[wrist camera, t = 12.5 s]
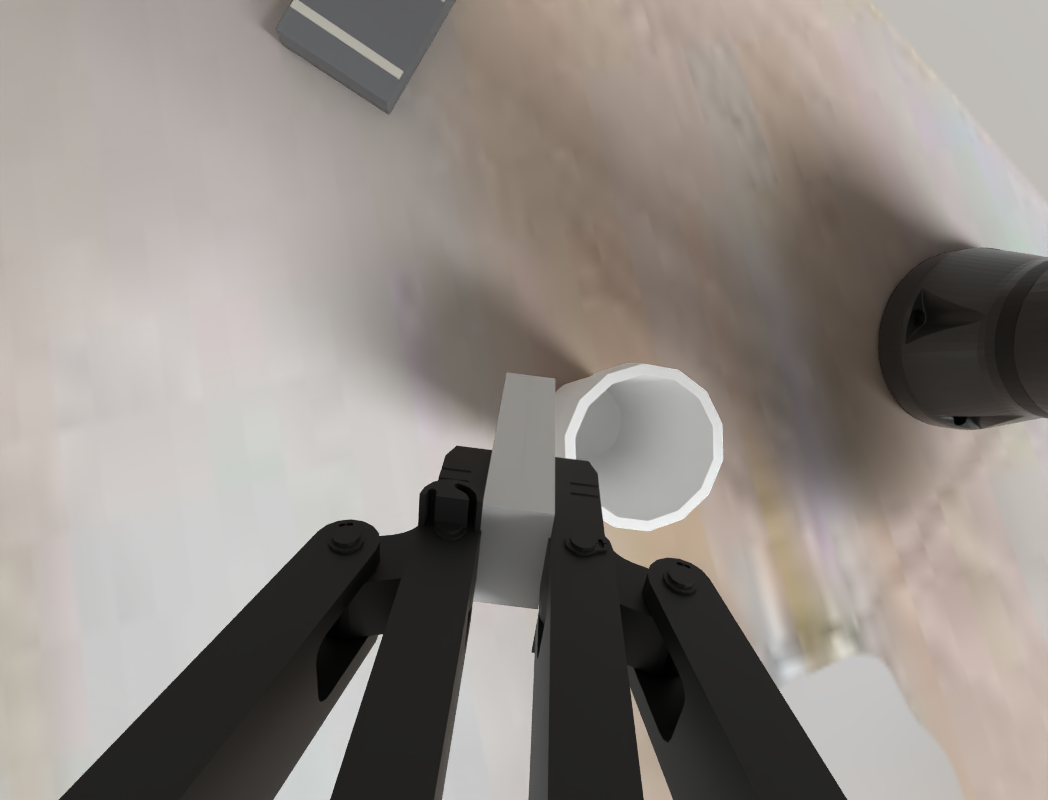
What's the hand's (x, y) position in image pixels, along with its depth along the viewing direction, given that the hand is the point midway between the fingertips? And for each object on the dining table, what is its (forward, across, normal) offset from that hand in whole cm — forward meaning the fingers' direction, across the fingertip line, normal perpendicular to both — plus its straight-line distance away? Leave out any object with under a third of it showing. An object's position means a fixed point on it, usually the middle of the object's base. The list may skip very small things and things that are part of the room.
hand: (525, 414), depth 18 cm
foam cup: (+24, +5, -13) cm, 28 cm away
